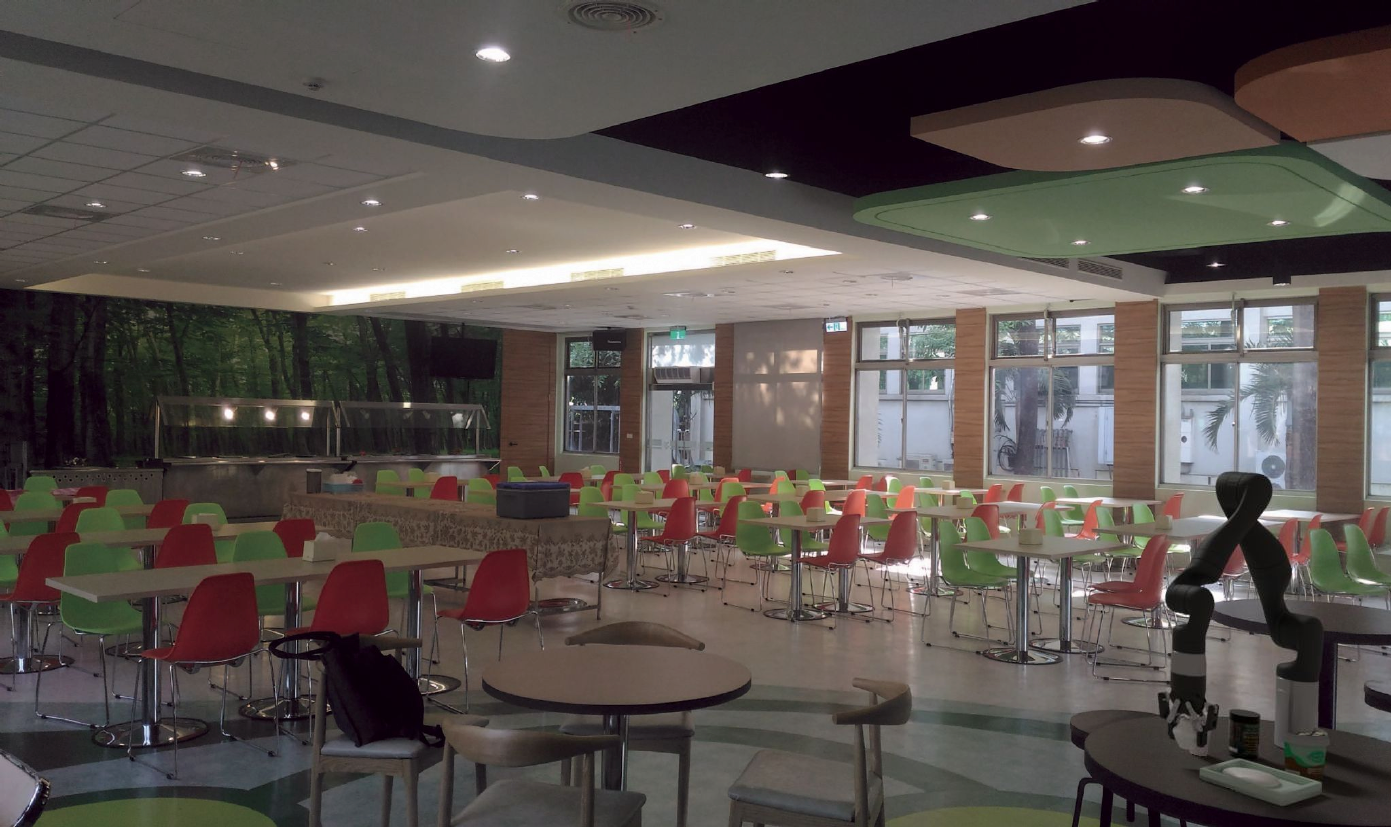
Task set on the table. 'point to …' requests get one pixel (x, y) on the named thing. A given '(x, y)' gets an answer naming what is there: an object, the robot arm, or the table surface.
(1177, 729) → the muffin
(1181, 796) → the table surface
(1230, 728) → the supplement container
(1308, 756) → the food container
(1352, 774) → the table surface
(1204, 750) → the smoothie
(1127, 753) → the table surface
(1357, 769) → the table surface
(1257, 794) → the tray
